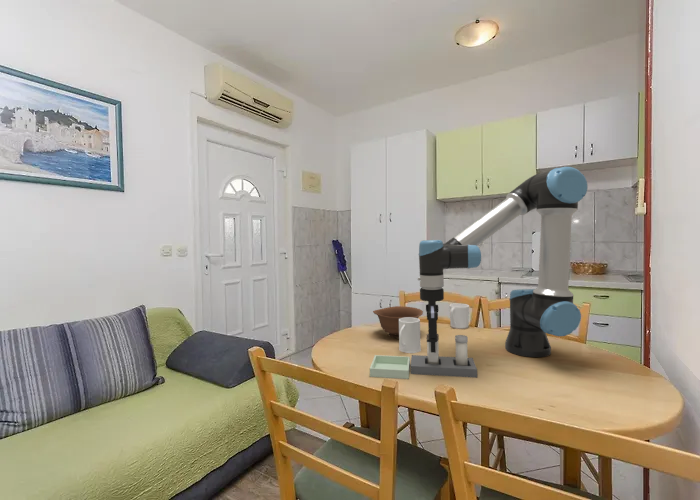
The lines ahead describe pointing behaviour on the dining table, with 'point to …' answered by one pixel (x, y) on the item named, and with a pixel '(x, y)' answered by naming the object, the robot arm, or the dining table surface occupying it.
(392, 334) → the bowl
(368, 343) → the dining table surface
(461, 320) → the mug
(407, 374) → the tray
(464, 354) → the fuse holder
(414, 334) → the mug
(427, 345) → the cylinder
